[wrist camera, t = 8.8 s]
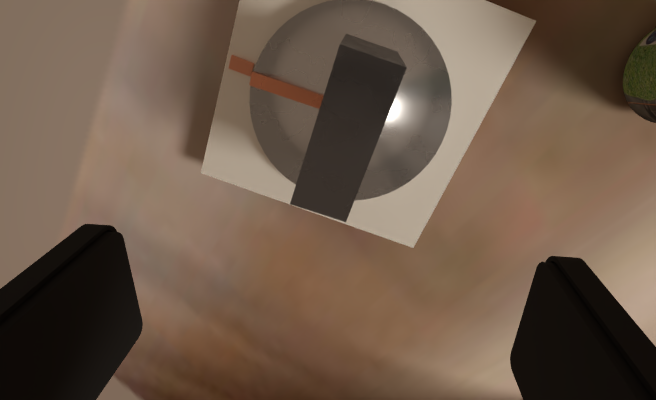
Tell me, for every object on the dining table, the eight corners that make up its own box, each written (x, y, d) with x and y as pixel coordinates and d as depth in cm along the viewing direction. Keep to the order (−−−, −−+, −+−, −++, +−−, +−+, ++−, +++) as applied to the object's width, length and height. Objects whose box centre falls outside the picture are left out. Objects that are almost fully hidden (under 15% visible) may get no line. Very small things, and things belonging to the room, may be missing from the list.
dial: (484, 40, 23) (529, 55, 17) (402, 216, 28) (412, 277, 22) (280, -34, 22) (246, -46, 16) (236, 161, 27) (197, 209, 21)
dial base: (410, 233, 31) (413, 249, 29) (210, 162, 30) (199, 174, 28) (523, 19, 24) (537, 21, 22) (268, -85, 23) (259, -93, 21)
